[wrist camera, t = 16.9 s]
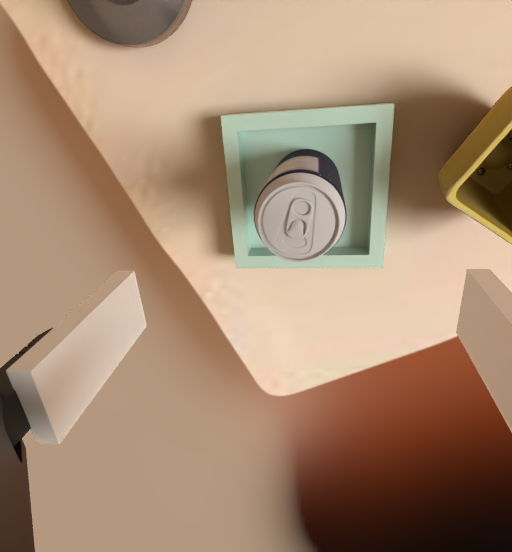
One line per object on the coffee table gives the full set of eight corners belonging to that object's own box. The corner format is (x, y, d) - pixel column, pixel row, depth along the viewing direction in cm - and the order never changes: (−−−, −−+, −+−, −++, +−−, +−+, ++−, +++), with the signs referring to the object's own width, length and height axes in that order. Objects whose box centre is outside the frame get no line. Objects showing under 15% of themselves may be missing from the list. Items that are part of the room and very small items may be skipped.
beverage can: (267, 206, 35) (243, 257, 24) (280, 141, 32) (259, 165, 22) (329, 220, 35) (333, 277, 24) (347, 155, 32) (360, 186, 21)
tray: (228, 114, 33) (220, 115, 30) (388, 102, 31) (394, 103, 28) (241, 256, 39) (235, 268, 36) (378, 254, 36) (382, 267, 34)
